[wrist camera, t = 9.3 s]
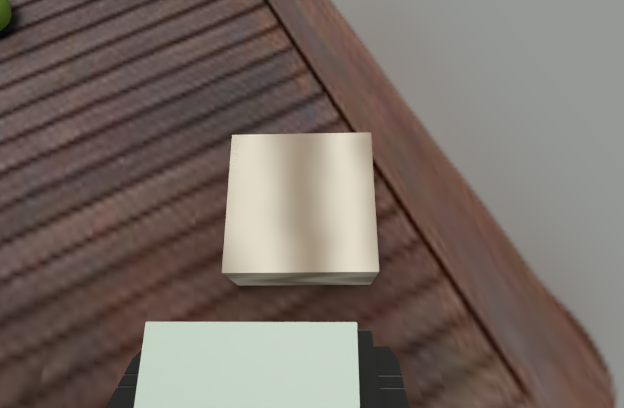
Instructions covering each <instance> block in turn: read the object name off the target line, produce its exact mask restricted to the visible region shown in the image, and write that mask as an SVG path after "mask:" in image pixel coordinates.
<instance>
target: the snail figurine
mask: <svg viewBox="0 0 624 408" xmlns="http://www.w3.org/2000/svg"><path fill="white" fill-rule="evenodd" d="M10 19H11V6H10V3H9V1H8V0H0V31H1V30H3V29H4V28H5V27H6V26H7V25H8V24H9V22H10Z"/></svg>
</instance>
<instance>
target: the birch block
mask: <svg viewBox="0 0 624 408" xmlns="http://www.w3.org/2000/svg"><path fill="white" fill-rule="evenodd" d="M378 273H379V261H378V244H377V227H376V210H375V193H374V177H373V160H372V143H371V133H319V134H261V135H232V143H231V156H230V170H229V183H228V197H227V210H226V224H225V237H224V250H223V264H222V274H224V275H225V276H226V277H228V278H229V279H230V280H232V281H233V282H234V283H236V284H237V285H238V286H244V285H370V284H371V283H372V282H373V280H374V279H375V277H376V276H377V274H378Z"/></svg>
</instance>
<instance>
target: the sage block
mask: <svg viewBox="0 0 624 408" xmlns="http://www.w3.org/2000/svg"><path fill="white" fill-rule="evenodd" d="M134 408H360V394H359V365H358V335H357V322H146V324H145V331H144V339H143V346H142V353H141V360H140V367H139V374H138V381H137V388H136V395H135V403H134Z"/></svg>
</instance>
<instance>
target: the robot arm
mask: <svg viewBox="0 0 624 408" xmlns="http://www.w3.org/2000/svg"><path fill="white" fill-rule="evenodd" d="M357 335H358V365H359V394H360V408H409V407H408V402H407V398H406V393H405V390H404V384H403V380H402V377H401V371H400V366H399V362H398V359H397V358H396V356H395V355H394V354H393V352H392V351H391V350H390V348H389V347H374V346H373V340H372V333H371V330H370V329H357ZM141 353H142V350H141V351H140V352H139V353H138V354H137V355H136V356H135V357H134V358H133V359H132V361H131V363H130V364H129V366H128V368H127V370H126V372H125V375H124V376H123V377H122V379H121V381H120V383H119V384H118V388H116V390H115V392H114V393H113V395H112V397H111V399H110V401H109V402H108V404H107V406H106V408H134V403H135V395H136V388H137V381H138V374H139V367H140V360H141Z"/></svg>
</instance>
